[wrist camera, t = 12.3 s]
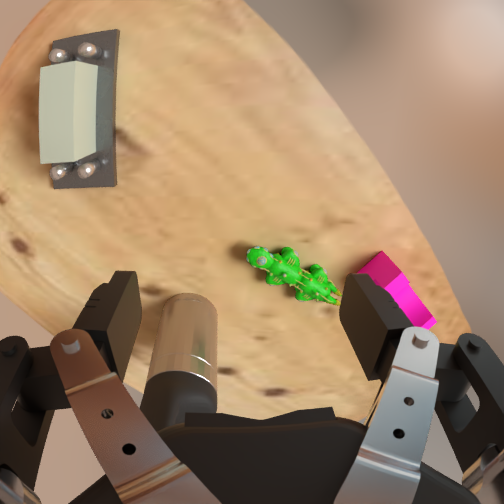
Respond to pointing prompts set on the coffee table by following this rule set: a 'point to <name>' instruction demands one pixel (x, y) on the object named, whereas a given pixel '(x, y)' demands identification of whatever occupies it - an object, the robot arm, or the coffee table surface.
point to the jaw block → (67, 111)
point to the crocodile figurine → (294, 274)
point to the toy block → (398, 289)
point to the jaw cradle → (104, 159)
